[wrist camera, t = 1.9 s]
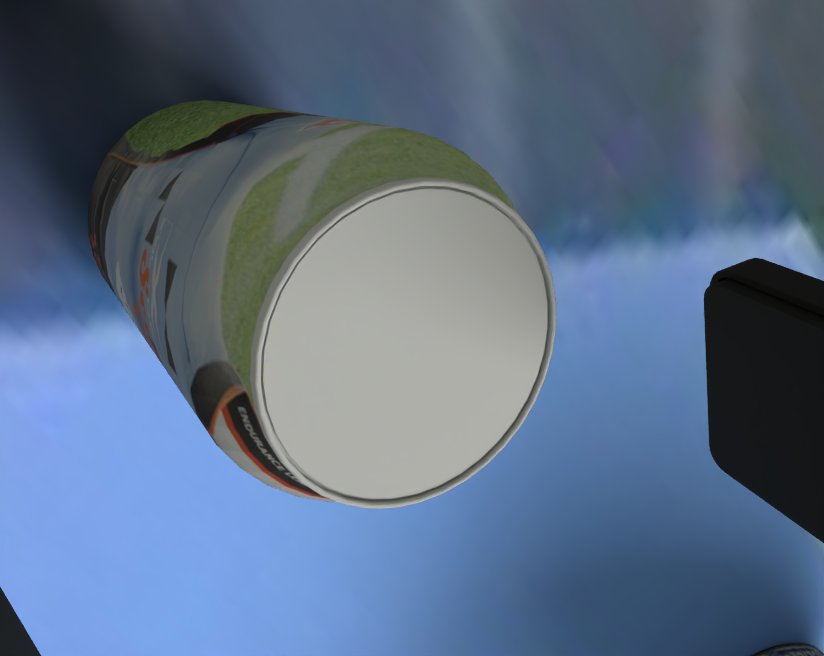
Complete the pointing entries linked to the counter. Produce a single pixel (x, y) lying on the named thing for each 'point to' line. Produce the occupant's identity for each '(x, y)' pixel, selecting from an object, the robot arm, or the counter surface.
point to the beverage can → (327, 295)
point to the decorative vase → (792, 651)
